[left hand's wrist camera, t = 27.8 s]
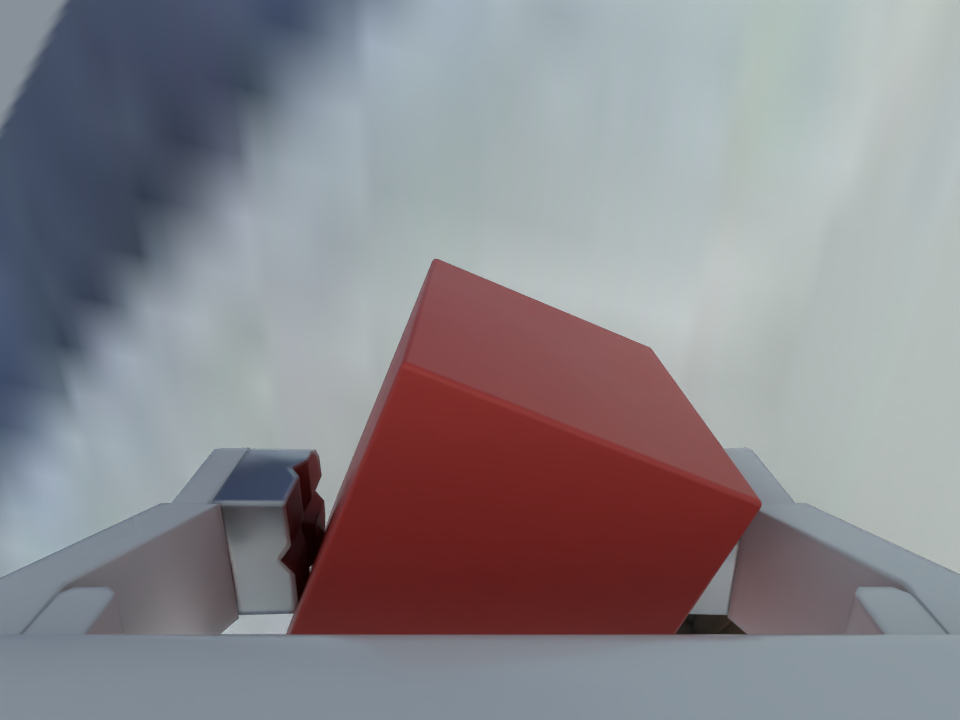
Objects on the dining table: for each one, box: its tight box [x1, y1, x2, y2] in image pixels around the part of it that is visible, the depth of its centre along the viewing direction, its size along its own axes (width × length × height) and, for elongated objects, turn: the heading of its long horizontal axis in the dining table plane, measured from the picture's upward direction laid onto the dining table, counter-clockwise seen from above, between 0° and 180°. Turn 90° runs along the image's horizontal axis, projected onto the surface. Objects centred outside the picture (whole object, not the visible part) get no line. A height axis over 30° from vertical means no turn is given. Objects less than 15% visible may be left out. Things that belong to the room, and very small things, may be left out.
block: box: [286, 259, 762, 634], centre depth 10 cm, size 4×5×5 cm
